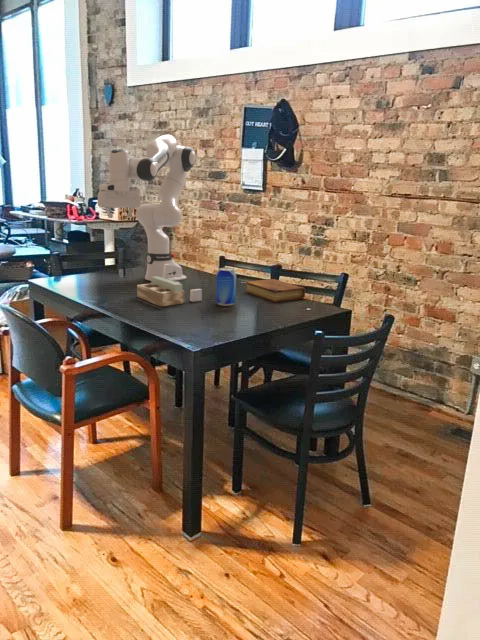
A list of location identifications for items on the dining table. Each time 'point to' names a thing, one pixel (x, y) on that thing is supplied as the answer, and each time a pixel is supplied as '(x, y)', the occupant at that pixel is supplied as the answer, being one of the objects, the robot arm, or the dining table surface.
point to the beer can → (226, 287)
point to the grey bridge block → (166, 283)
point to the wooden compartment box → (160, 295)
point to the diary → (275, 290)
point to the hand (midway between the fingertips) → (119, 217)
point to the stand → (195, 294)
